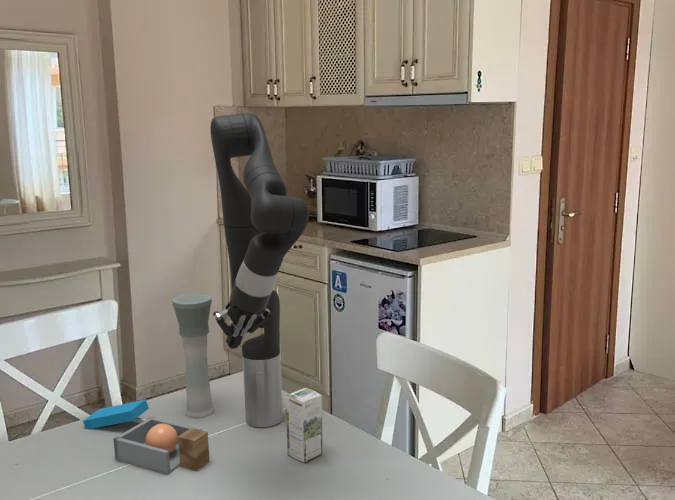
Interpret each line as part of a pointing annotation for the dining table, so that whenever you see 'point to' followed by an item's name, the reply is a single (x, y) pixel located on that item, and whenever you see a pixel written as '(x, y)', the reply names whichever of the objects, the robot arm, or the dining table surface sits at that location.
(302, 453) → the syrup box
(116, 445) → the tray
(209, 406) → the container
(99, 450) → the dining table surface
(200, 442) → the wooden block
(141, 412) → the lever
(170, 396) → the dining table surface
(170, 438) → the ball
